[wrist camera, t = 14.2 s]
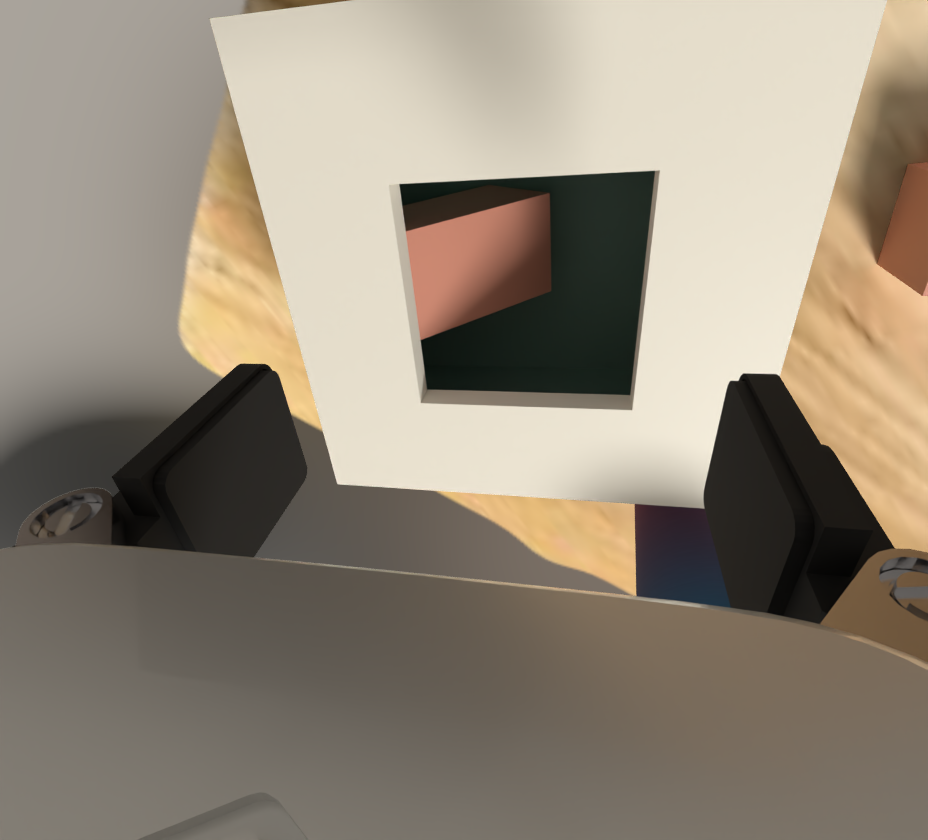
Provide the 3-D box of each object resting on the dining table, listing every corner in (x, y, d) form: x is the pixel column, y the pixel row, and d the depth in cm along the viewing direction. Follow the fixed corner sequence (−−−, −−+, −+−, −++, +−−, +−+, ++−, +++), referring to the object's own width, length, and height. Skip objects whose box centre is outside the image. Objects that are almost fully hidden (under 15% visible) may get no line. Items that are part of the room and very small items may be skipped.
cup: (610, 428, 30) (628, 675, 18) (741, 411, 28) (860, 679, 16) (625, 514, 34) (648, 772, 22) (743, 505, 32) (842, 785, 19)
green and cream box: (767, -15, 19) (906, -70, 11) (695, 378, 28) (741, 510, 20) (347, 33, 22) (209, 18, 14) (402, 371, 31) (337, 484, 23)
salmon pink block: (549, 192, 21) (394, 234, 18) (551, 291, 23) (413, 342, 20) (488, 184, 24) (346, 219, 21) (495, 272, 26) (367, 315, 23)
